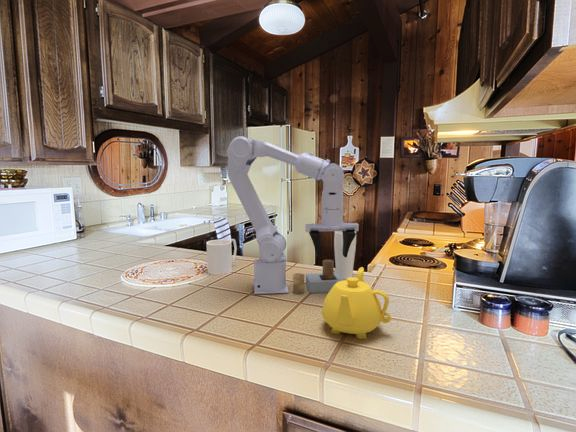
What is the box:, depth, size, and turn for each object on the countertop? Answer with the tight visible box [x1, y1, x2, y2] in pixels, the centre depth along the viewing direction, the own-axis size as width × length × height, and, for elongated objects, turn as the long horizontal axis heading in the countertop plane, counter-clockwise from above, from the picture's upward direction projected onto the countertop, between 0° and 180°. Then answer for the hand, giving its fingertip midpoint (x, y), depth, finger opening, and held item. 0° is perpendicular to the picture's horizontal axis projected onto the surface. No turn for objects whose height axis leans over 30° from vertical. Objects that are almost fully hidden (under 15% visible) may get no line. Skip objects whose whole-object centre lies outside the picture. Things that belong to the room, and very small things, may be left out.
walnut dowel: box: [322, 259, 335, 280], centre depth 100 cm, size 3×3×8 cm
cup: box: [206, 238, 238, 276], centre depth 117 cm, size 8×12×10 cm
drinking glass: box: [333, 231, 357, 280], centre depth 108 cm, size 7×7×15 cm
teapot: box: [321, 266, 392, 340], centre depth 74 cm, size 20×15×12 cm
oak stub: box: [292, 272, 305, 295], centre depth 97 cm, size 3×3×5 cm
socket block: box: [305, 272, 343, 294], centre depth 100 cm, size 10×8×3 cm
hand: (331, 256), depth 95 cm, fingers open, 7 cm apart
